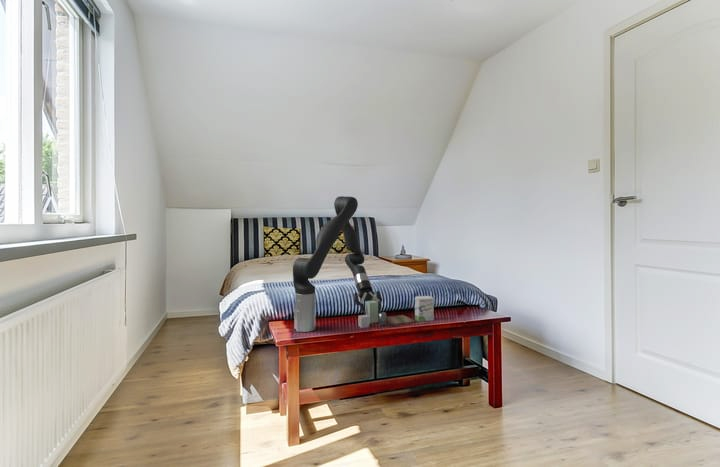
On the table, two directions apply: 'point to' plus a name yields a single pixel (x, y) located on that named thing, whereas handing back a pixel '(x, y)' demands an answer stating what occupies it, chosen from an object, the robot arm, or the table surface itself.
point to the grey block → (363, 321)
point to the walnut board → (399, 320)
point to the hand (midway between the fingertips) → (371, 310)
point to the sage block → (372, 311)
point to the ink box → (424, 308)
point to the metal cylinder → (382, 319)
